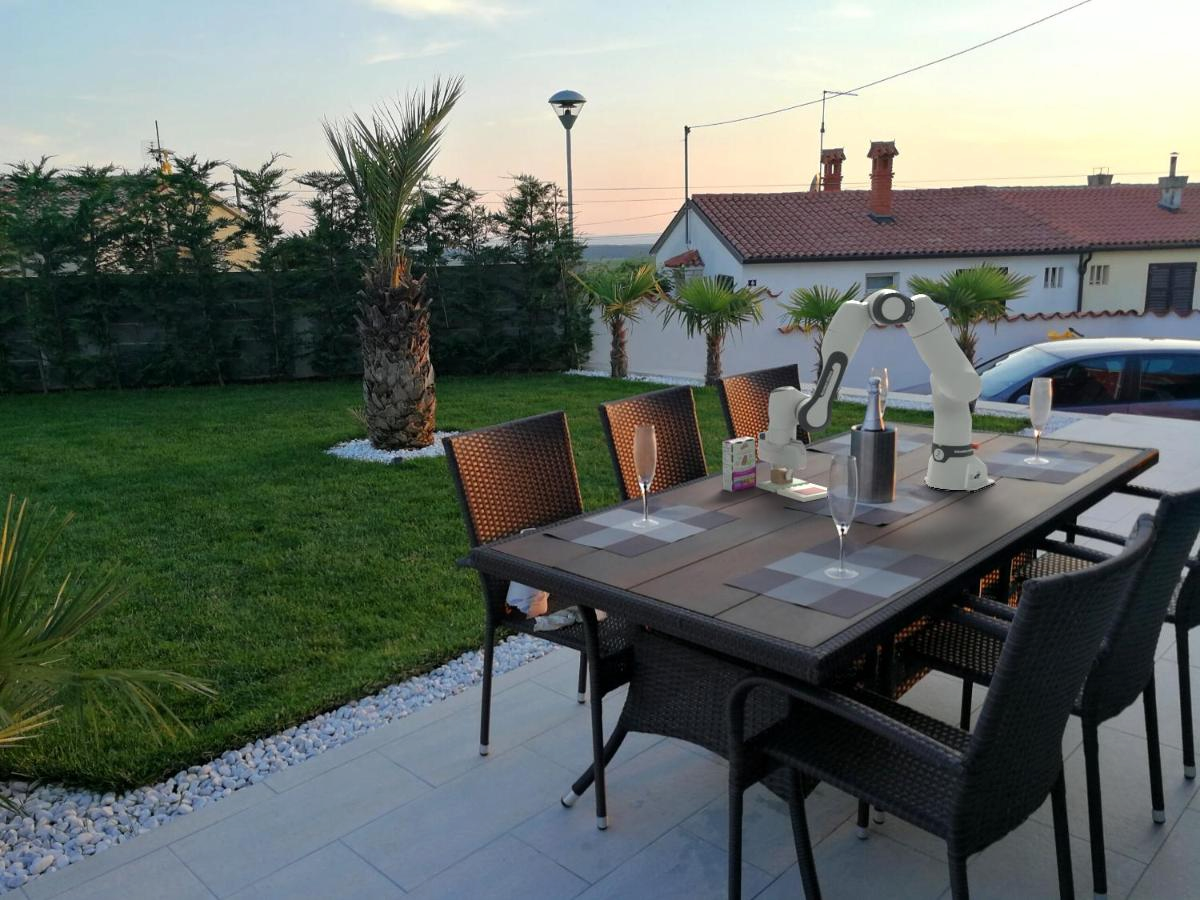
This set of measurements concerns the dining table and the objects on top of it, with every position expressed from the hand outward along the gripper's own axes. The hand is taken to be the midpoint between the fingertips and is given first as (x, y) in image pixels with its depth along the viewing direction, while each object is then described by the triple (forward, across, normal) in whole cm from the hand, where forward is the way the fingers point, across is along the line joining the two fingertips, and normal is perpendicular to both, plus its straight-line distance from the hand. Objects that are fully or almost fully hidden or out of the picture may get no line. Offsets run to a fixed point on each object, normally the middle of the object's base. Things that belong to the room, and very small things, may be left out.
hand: (781, 477), depth 275 cm
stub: (+3, 0, 0) cm, 3 cm away
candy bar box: (+3, +7, +12) cm, 14 cm away
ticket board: (+3, -12, 0) cm, 12 cm away
